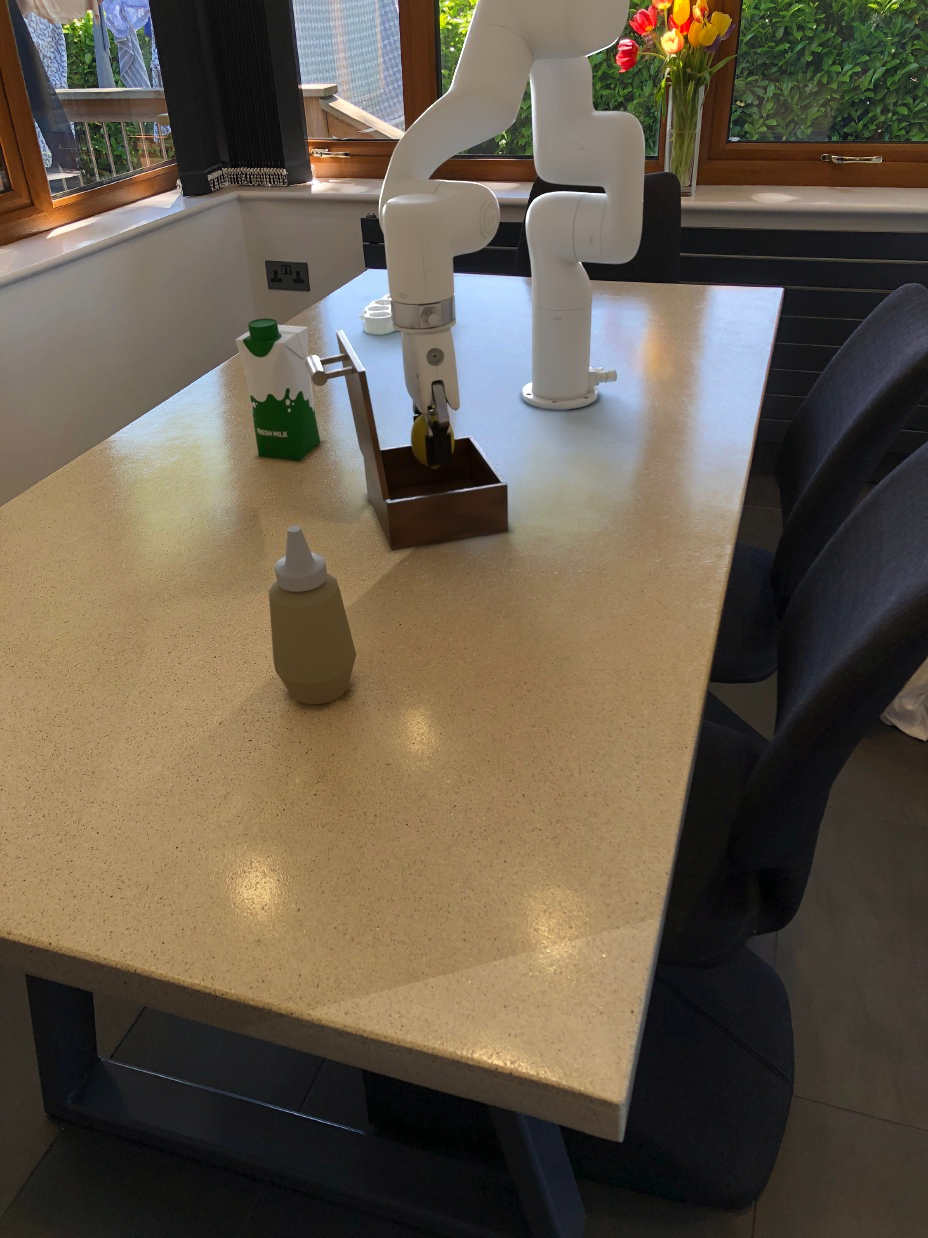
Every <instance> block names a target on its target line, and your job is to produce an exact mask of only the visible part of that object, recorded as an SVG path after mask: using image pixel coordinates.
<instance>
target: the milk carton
mask: <svg viewBox="0 0 928 1238" xmlns="http://www.w3.org/2000/svg"><path fill="white" fill-rule="evenodd" d="M247 325H248V331H247V332H245V333H243V334H242V335H240V336H239V337H237V338H235V340H234V342H235V344H236V348H237V350H238V354H239V356H240V358H241V362H242V366H243V371H244V376H245V381H246V387H247V392H248V399H249V404H250V409H251V415H252V416H251V417H252V420H253V421H252V422H253V428H254V434H255V441H256V448H257V454H258V457H259V458H268V459H277V460H285V461H291V462H292V461H293V462H301V461H302V460H303V459H304V458H306V457H307V455H308V454H310V453H311V452H313V450H314V449H315V448H316V447H318V446H319V445H320V444H321V443H322V442H321V438H320V432H319V426H318V422H317V417H316V408H315V401H314V395H313V386H312V379H311V377H310V374H309V372H308V369H307V367H306V364H305V361H306V359H307V357H309V344H308V343H309V337H308V336H309V332H308V330H309V327H308V326H302V325H301V326H299V325H286V324H285V325H283V324H278V320H276V319H274V318H268V317H266V318H258V319H253V320H251V321H249V322H248V323H247Z"/></svg>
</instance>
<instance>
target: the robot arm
mask: <svg viewBox="0 0 928 1238" xmlns="http://www.w3.org/2000/svg"><path fill="white" fill-rule="evenodd" d="M629 10H630V0H477V2H476V4H475V8H474V12H473V14H472V17H471V21H470V25H469V26H468V27H469V28H468V30H467V34H466V36H465V40H464V43H463V47H462V50H461V53H460V57H459V58H458V59H459V60H458V63H457V66H456V68H455V72H454V75H453V79H452V83H451V85H450V87H449V89H448V91H447V92H446V93H445V94H443V96H441V97H440V98H439V99H437V100H436V101H435V102H434V103H433V104H431V105H430V107H428V108H427V109H426V110H425V111H424V112H422V114H421V115H420V116H419V117H418V118H417V119H416V120H415V121H414V123H412V124H411V125H410V126H409V128H408V129H407V130H406V131H405V133H403V135H402V136H401V137H400V138H399V140H398V143H397V144H396V146H395V147H394V150H393V152H392V155H391V158H390V161H389V164H388V167H387V170H386V174H385V177H384V180H383V184H382V187H381V192H380V196H379V202H378V220H379V226H380V229H381V231H382V234H383V239H384V250H385V262H386V270H387V272H386V273H387V283H388V284H387V285H388V293H389V294H388V295H390V305H391V316H392V326H393V328H394V329H395V330H398V332H399V333H400V336H401V354H402V366H403V375H404V376H403V377H404V382H405V383H404V384H405V387H406V390H407V393H408V395H409V397H410V398H411V400H412V412H413V415H412V421H413V423H414V422H415V420H416V419H417V418H418V417H419V416H420V415H421V414H424V416H425V423H426V429H427V435H425V446H426V459H427V464H428V466H436V465H442V464H448V463H451V462H452V444H451V430H450V424H451V418H450V414H449V413H450V412H449V410H448V406H449V408H450V409H451V410H454V411H455V412H456V411H459V409H460V407H461V399H460V387H459V379H458V377H459V376H458V369H457V359H456V358H457V357H456V350H455V345H454V338H453V334H452V329H451V328H452V327H454V326H455V325H456V323H457V315H456V313H457V312H456V296H455V294H456V293H455V276H454V275H455V274H454V257H456V256H457V257H458V256H461V255H465V254H471V253H472V254H473V253H475V252H478V251H480V250H482V249H483V248H485V247H486V246H488V245H489V243H490V242H491V241H492V240H493V239H494V237H495V236H496V234H497V232H498V228H499V225H500V220H501V210H500V209H501V208H500V205H499V201H498V198H497V197H496V195H495V193H494V192H493V191H492V189H490V188H489V187H487V186H485V185H483V184H481V183H478V182H472V181H460V180H459V181H457V180H447V179H430V177H431V176H432V175H433V174H434V172H435V171H436V170H437V169H438V168H439V167H441V165H443V164H444V163H445V162H446V161H448V160H449V159H450V158H452V157H454V156H455V155H457V154H460V153H461V152H464V151H466V150H468V149H471V148H473V147H475V146H477V145H480V144H482V143H484V142H488V140H491V139H492V138H494V137H497V136H499V135H501V134H502V133H504V132H505V131H508V130H509V128H511V127H512V126H513V124H515V122H516V120H517V117H518V115H519V111H520V108H521V105H522V102H523V101H522V100H523V98H524V94H525V90H526V88H527V85H528V81H529V83H530V93H531V95H530V96H531V97H530V98H531V125H532V126H531V127H532V150H533V160H534V161H533V162H534V169H535V171H536V174H537V176H538V177H539V178H540V180H543V181H544V182H546V183H550V184H555V185H568V186H584V187H585V186H588V187H602V188H603V189H604V191H605V193H593V192H592V193H591V192H590V193H589V192H580V191H579V192H578V191H552V192H547V193H544V194H540V196H537V197H536V198H535V199H533V201H532V202H531V204H530V205H529V207H528V209H527V211H526V216H525V235H526V242H527V247H528V254H529V261H530V272H531V273H530V274H531V382H529V383H527V384H525V386H524V387H522V391H521V392H522V393H521V396H522V400H523V401H525V402H526V403H527V404H529V405H530V406H533V407H536V408H540V409H545V410H546V409H547V410H559V411H560V410H562V411H563V410H573V409H579V408H583V407H586V406H589V405H591V404H592V403H594V402H595V401H596V400H597V399H598V395H599V389H598V387H597V386H599V385H600V384H603V383H614V382H616V381H617V379H618V374H617V370H615V369H609V370H604V368H603V367H595V368H592V367H591V366H590V363H591V362H590V361H591V339H592V338H591V337H592V336H591V335H592V310H593V287H592V283H591V280H590V277H589V275H588V273H587V271H586V269H585V267H584V266H583V264H582V263H591V264H592V263H593V264H594V263H595V264H610V265H620V264H621V265H622V264H625V263H628V262H630V261H631V260H633V259H634V258H635V256H636V255H637V253H638V251H639V247H640V245H641V239H642V233H643V219H644V217H643V216H644V215H643V214H644V189H645V188H644V187H645V166H646V165H645V163H646V162H645V161H646V149H645V148H646V146H645V145H646V144H645V134H644V131H643V126H642V124H641V122H640V120H639V119H638V118H637V117H636V116H635V115H634V114H632V113H630V112H626V111H619V110H596V109H595V107H594V104H593V103H594V101H593V69H592V66H591V63H590V60H589V58H588V56H589V57H590V56H591V55H594V54H596V53H599V52H600V51H603V50H606V49H608V48H610V47H611V46H613V45H614V44H615V43H616V42H617V41H618V39H620V37H621V35H622V34H623V32H624V29H625V27H626V25H627V21H628V17H629V12H630V11H629ZM429 410H431V411H429ZM435 415H436V420H435V421H433V424H432V423H431V416H435Z"/></svg>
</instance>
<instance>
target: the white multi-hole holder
mask: <svg viewBox="0 0 928 1238" xmlns="http://www.w3.org/2000/svg"><path fill="white" fill-rule="evenodd" d="M357 318H358V319H360V320H362V321H363V322H364V331H365V333H366V334H369V335H375V336H377V335H378V336H379V335H381V336H382V335H388V334H391V333H394V332H397V331H398V330H395V329H394V328H393V326H392V316H391V305H390V295H389V294H385V295H383V297H381V298H379V299H375V300H373V301H371V302H369V305H368V306H365V307H364V311H363V313H362V314H360V315H358V316H357ZM398 332H399V331H398Z"/></svg>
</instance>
